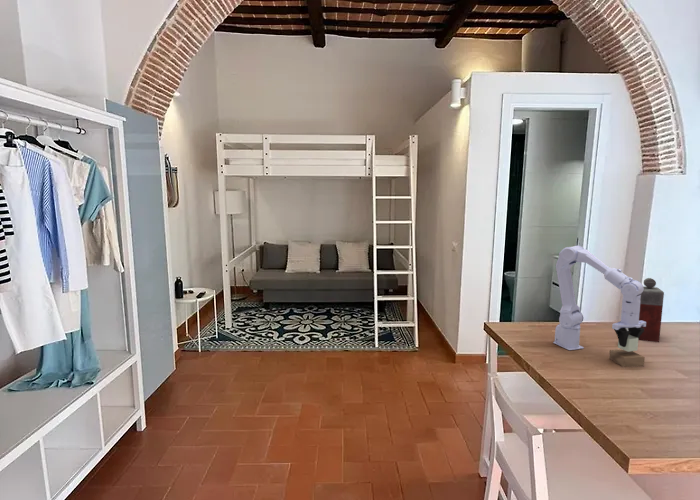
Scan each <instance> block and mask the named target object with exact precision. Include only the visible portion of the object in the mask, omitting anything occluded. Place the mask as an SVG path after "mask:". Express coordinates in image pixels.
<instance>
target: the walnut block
mask: <svg viewBox="0 0 700 500" xmlns="http://www.w3.org/2000/svg"><path fill="white" fill-rule="evenodd" d="M608 359H609V360H611V361H613V362H614V363H615V364H617V365H619V366H621V367H623V368H633V367H634V368H637V367H645V356H643V355H641V354H640V353H637V352H636V351H630V352H628V351H625V350H623V349H609V358H608Z"/></svg>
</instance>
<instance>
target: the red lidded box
mask: <svg viewBox="0 0 700 500" xmlns="http://www.w3.org/2000/svg"><path fill="white" fill-rule="evenodd" d="M656 286H657V282H656V280H655V279H654V278H652V277H648V278H645V279H644V280H643V287H644V290H643V292H642V293H641V294H639V295H641V298H640V313H639V321H641V320H642V321H645V322H646V327H643V326H641V328H644V332H643V333H642V334H641V335H640V337H639V339H638V341H645V342H651V343H652V342H653V343H654V342H655V343H660V338H661V329H662V328H661V327H662V316H663V305H664V296H665V292H664V291H663V290H661V289H660V288H659V287H656Z"/></svg>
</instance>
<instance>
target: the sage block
mask: <svg viewBox="0 0 700 500" xmlns="http://www.w3.org/2000/svg"><path fill="white" fill-rule="evenodd" d="M617 341H618V342H617V348H618V349H619V350H625V351H628V352H630V351H633V352H636V351H638V349H639V348H638V347H639V340H638V338H637V337H634V336H631V335H629V336H628V339H627V344H626V347H622V346H620V345H619V340H617Z"/></svg>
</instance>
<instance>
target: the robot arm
mask: <svg viewBox="0 0 700 500" xmlns="http://www.w3.org/2000/svg"><path fill="white" fill-rule="evenodd" d="M576 263H585V264H587V265H588V266H590V267H592V268H593V269H595V270H597V271H598V272H600V273H601V274H603V275H604V280H606V281H607V282H608V283H610V284H612V285H613V286H614V287H616V288H617V289H618V290H620V293H621V294H622V301H621V302H622V303H621V311H620V312H621V314H620V321H617V322H615V323H612V327H611V329H612V330H613V331H614V333H615V334H616V337H617V339H618V340H619V345H620V346H622V347H626V344H627V339H628V336H629V335H631V336H634V337H637V338H638V339H639V337H640V335H641V334H642V333H643V332H644V328H641V326H643V327H646V322H645V321H642V320H641V321H639V313H640V298H641V295H639V294H641V293H642V292H643V290H644V287H643V286H644V284H643V283H642V282H641V281H639V280H636V279H634V278H633V277H630V276H628V275H626V274H625V273H624V272H622V271H623V270H622V269H621V268H616V267H610V266H608V265H607V264H606V263H604V262H603V261H602V260H601V259H599V258H598V257H596V256H595V254H593V253H591V252H590V251H589V250H588V249H587V248H584V247H583V246H581V245H574V246H566V247H564V248H562V249H561V250H560V252H558V258H557V261H556V264H555V269H556V274H557V282H558V287H559V293H560V300H561V308H560V310H559V318H558V321H559V324H557V325H556V326H555V329H554V330H555V332H554V341H553V342H552V343H553V344H556V346H559V347H561V348H563V349H566V350H568V351H574V350H583V349H585V347H584V346H582V345H580V337H581V324H582V323H583V322H584V320H585V319H584V315H583V313H582V312H581V309H580V306H579V305H578V304H577V301H576V296H575V288H574V283H573V278H572V272H571V268H572V267H574V266H575V264H576ZM626 328H628V330H629V331H627V329H626ZM618 340H617V341H618Z"/></svg>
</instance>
